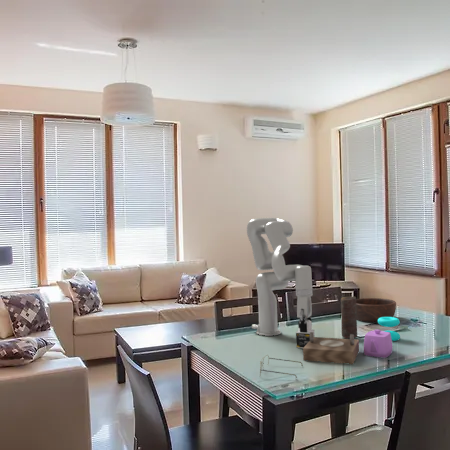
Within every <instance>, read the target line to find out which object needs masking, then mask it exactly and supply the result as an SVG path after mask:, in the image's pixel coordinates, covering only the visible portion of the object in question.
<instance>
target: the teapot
mask: <svg viewBox="0 0 450 450" xmlns="http://www.w3.org/2000/svg"><path fill="white" fill-rule="evenodd" d="M385 331H386V330H381V329H377V328H376V329H374V330H370V331H368V332H366V333H365V335H364V339H363V355H364V356H366V355H367V357H373V356H374V357H373V358H381V357H382V358H383V359H386V358H388V357H390V355H391V354H392V353H393V341H392V339H391V334H390V332H385ZM382 358H381V359H382Z"/></svg>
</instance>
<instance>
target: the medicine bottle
mask: <svg viewBox="0 0 450 450" xmlns="http://www.w3.org/2000/svg"><path fill="white" fill-rule="evenodd" d="M304 321H305V320H304ZM306 323H307V332H300V320H298V323H297V325H298V326H297V327H298V330H297V331H296V332H295V338H296V339H295V343H296V345H295V346H296V348H299V349H303V348H304V347H305V345H306V344H307V343H308V342H309V341H310V332H313V337H316V336H315V329H313V326H312V325H313V324H312V323H313V321H312V322H311V321H310V320H306Z"/></svg>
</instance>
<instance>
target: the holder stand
mask: <svg viewBox="0 0 450 450" xmlns="http://www.w3.org/2000/svg"><path fill="white" fill-rule="evenodd" d="M358 352H359V353H360V340H359V339H356V338H354V335H353V334H351V335H350V338H349V339H348V338H337V337H336V338H335V337H323V336H322V337H320V336H315V337H313V332H310V341H309V342H308V343H307V344H306V345H305V347H304V348H302V355H303V356H302V359H303V360H302V361H306V360H308V361H307V362H309V361H310V362H318V361H321V362H320V363H331V362H334V364H343V363H349V364H348V365H354V364H353V363H355V362H354V361H356V359H357V357H358V355H359V353H358Z"/></svg>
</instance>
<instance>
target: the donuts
mask: <svg viewBox="0 0 450 450" xmlns="http://www.w3.org/2000/svg"><path fill="white" fill-rule="evenodd" d="M377 324H378V325H380V326H381V327H385V328H394V327H397V326H399V325H400V324H401V322H400V319H399V318H397V317H395V316H394V317H380V318H379V319H378V322H377ZM384 331H385V332H390V334H391V339H392V342H396V341H399V340H400V339H401V335H400V333H399V332H398V331H394V330H390V329H389V330H384Z"/></svg>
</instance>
